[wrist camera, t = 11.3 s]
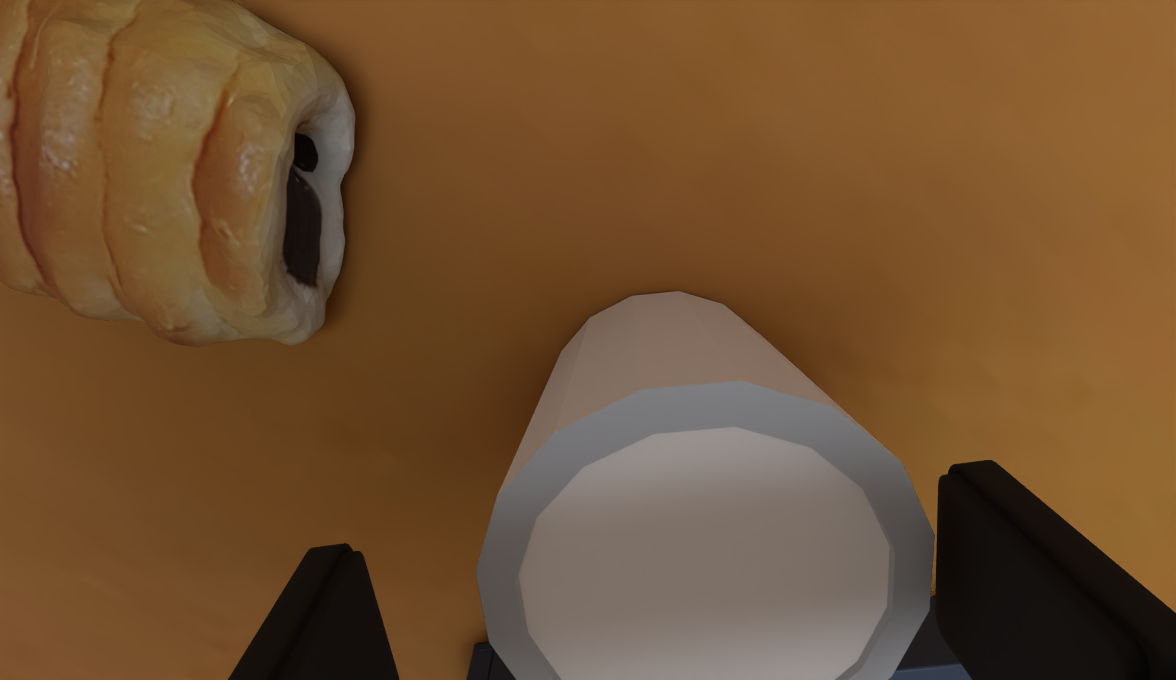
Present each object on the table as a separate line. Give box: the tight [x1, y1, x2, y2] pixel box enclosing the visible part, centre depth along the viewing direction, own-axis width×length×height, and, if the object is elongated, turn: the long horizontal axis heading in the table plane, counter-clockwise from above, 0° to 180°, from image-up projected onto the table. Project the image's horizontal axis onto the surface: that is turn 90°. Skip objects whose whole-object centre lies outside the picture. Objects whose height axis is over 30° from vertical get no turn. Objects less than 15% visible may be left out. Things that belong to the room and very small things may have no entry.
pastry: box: [0, 0, 356, 347], centre depth 13 cm, size 9×7×4 cm
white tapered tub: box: [475, 291, 935, 680], centre depth 13 cm, size 7×7×7 cm
